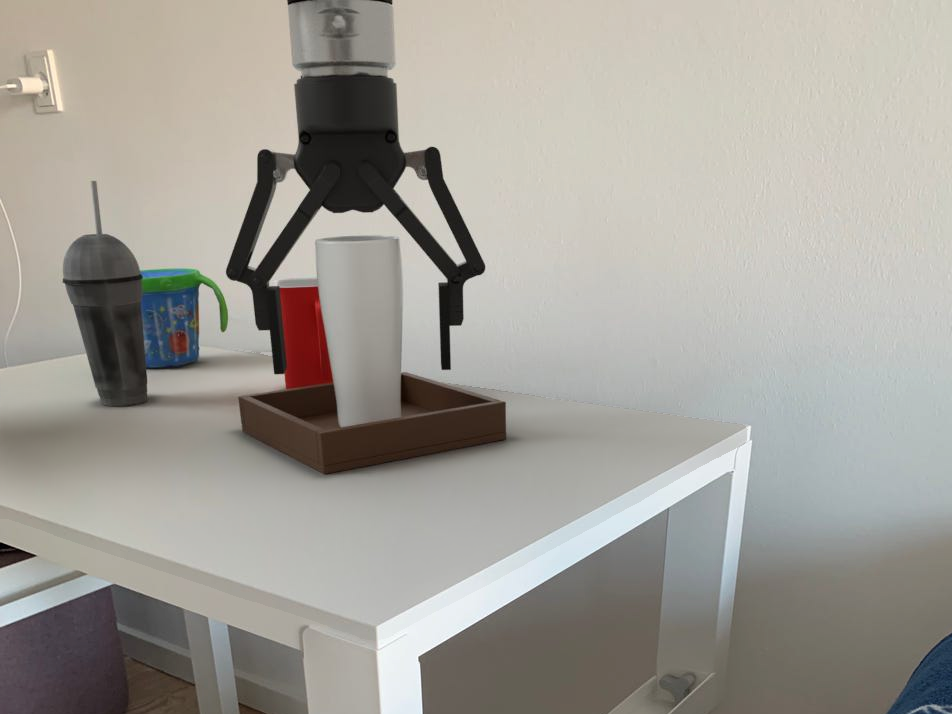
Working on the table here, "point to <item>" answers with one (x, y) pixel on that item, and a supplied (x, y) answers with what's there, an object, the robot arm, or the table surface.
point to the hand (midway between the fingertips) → (363, 369)
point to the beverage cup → (108, 312)
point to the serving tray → (371, 424)
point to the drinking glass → (362, 323)
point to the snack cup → (174, 315)
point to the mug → (303, 333)
